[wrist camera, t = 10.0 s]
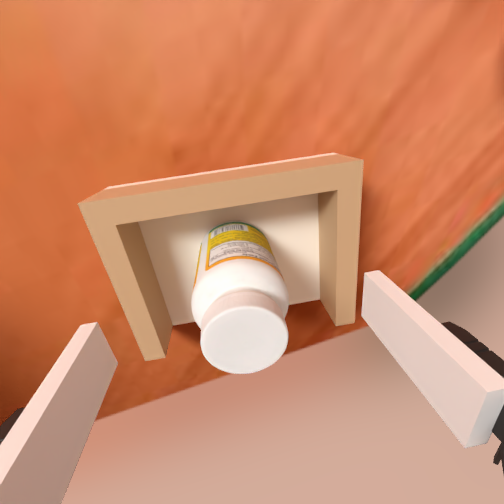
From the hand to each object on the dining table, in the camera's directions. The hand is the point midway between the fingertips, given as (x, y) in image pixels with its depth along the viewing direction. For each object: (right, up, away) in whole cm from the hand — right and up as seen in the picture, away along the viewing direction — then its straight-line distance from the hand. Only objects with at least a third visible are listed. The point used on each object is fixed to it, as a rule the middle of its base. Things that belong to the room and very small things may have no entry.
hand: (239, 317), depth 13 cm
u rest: (-1, +4, +8) cm, 9 cm away
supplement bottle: (-1, +3, +7) cm, 8 cm away
